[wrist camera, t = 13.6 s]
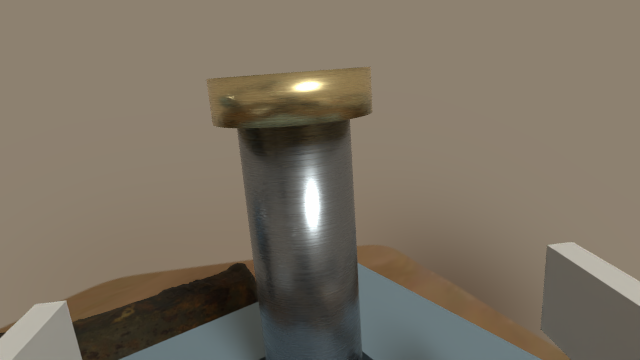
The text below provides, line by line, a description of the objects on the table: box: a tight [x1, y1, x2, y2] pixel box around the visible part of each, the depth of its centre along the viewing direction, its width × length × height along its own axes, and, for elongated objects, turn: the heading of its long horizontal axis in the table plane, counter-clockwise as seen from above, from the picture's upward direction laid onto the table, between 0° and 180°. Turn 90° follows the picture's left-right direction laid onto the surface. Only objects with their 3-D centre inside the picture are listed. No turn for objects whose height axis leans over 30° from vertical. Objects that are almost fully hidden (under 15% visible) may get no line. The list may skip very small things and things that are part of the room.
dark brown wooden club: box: [0, 263, 258, 360], centre depth 27 cm, size 19×4×5 cm, turn 121°
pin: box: [207, 67, 372, 360], centre depth 16 cm, size 6×6×16 cm
